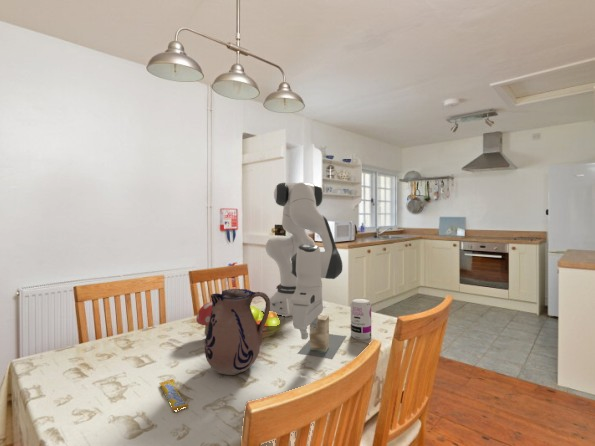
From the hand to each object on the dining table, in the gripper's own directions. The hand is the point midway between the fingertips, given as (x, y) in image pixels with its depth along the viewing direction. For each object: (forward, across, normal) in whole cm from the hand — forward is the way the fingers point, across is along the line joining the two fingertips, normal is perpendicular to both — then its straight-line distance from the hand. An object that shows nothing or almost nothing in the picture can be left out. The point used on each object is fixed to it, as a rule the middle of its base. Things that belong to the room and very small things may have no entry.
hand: (309, 333), depth 108 cm
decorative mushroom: (+10, -6, -44) cm, 46 cm away
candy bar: (+11, +33, -29) cm, 45 cm away
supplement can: (+10, -28, +12) cm, 33 cm away
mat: (+10, -15, 0) cm, 18 cm away
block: (+10, -10, 0) cm, 14 cm away
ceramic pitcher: (+10, +12, -21) cm, 26 cm away
